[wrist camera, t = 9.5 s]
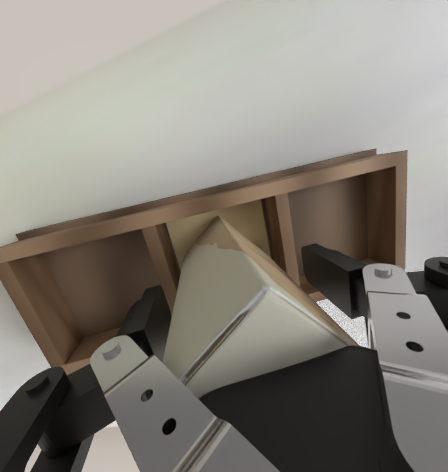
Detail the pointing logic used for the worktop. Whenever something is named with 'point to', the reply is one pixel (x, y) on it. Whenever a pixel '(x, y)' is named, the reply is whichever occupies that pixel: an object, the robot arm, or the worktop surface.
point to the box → (241, 315)
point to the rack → (186, 234)
